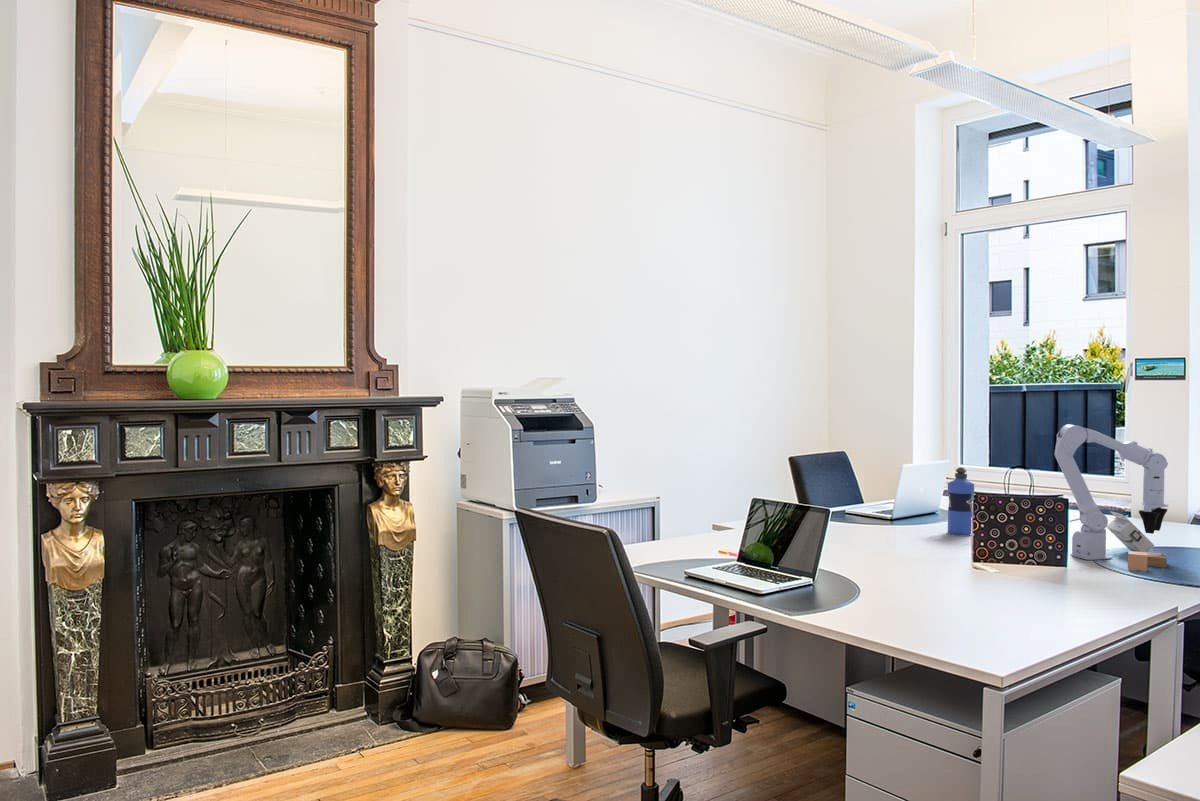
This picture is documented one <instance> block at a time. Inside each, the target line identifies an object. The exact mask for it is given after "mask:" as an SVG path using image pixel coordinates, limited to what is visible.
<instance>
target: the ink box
mask: <svg viewBox="0 0 1200 801" xmlns="http://www.w3.org/2000/svg"><path fill="white" fill-rule="evenodd" d="M1109 512H1110V514H1112V515H1113V516H1114V518H1113V520H1112V521H1110V522H1108V524H1107V527H1106V529H1108V530H1109V531H1110V532H1111V533H1112V534H1113V535H1114V536H1115V537H1116V538H1117V539H1118V540H1119V541H1120V543H1121V544H1123V545H1124V546H1125V547H1126V548H1127V549H1128V551H1134V552H1137V551H1140V552H1150V551H1151V550H1152V549H1153V548H1154V546H1155V544H1154V543H1153V542H1152V541H1151V540H1150V539H1149V538H1148V537H1147V536H1146V535H1145V534H1144V533H1143V532H1142V531H1141V530H1140V529H1139V528H1138V527H1137V526H1136V525H1134V523H1132V521H1131V520H1129V518H1128V517H1126V516H1125V515H1124V514H1122V513H1119V512H1115V511H1112V510H1110V511H1109Z"/></svg>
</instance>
